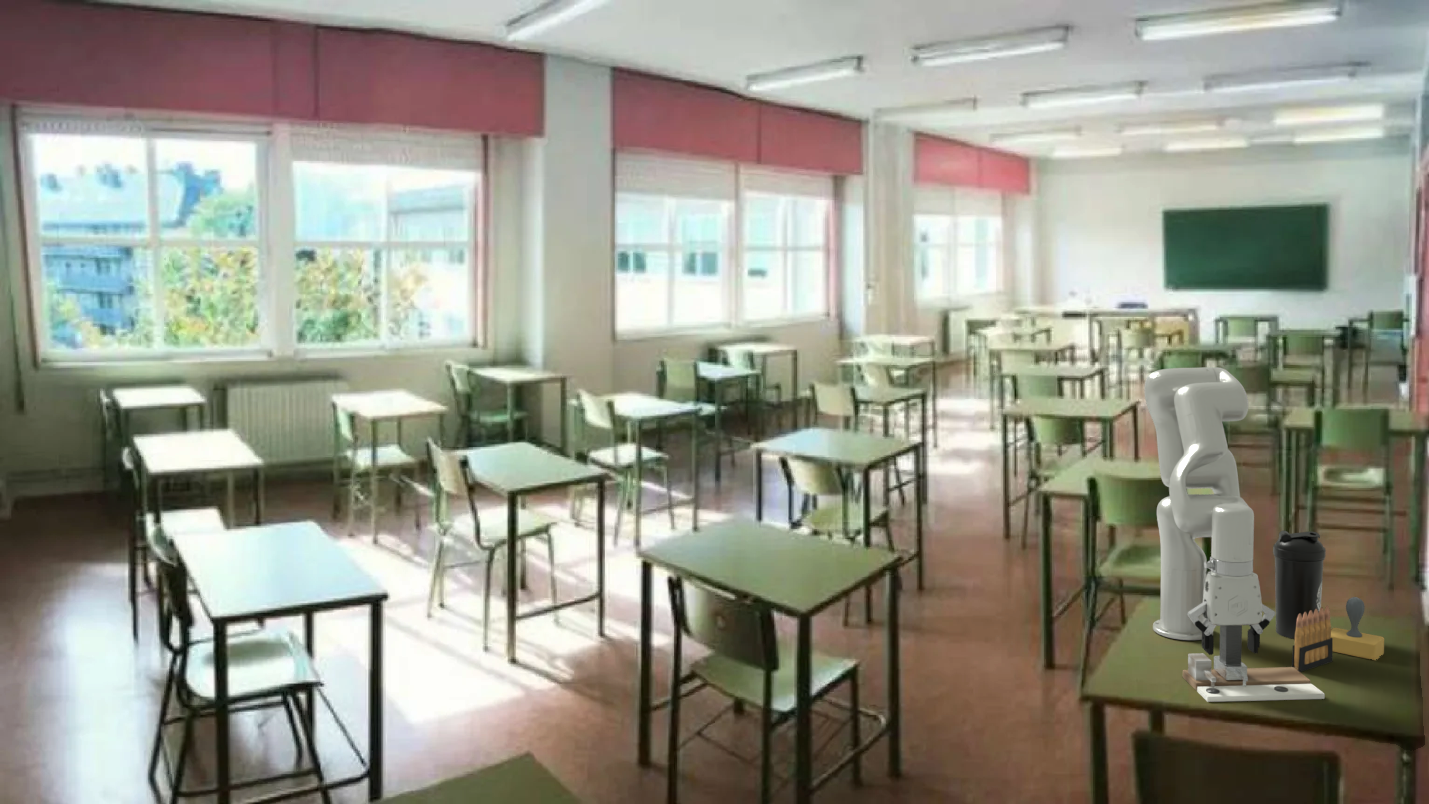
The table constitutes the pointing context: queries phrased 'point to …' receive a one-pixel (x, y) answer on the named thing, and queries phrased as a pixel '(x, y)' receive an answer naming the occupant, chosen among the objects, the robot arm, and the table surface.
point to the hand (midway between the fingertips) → (1230, 651)
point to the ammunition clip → (1312, 640)
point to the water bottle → (1297, 578)
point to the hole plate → (1260, 692)
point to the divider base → (1205, 676)
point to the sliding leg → (1231, 654)
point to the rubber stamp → (1356, 635)
